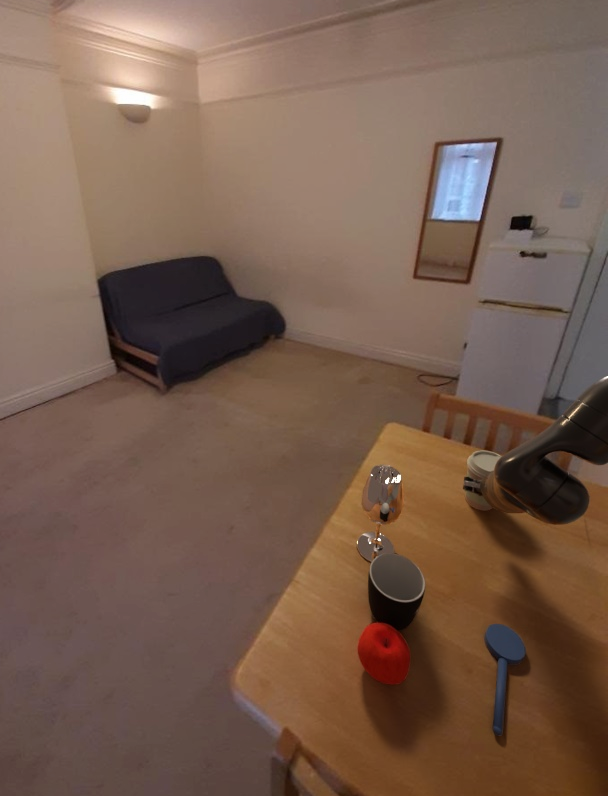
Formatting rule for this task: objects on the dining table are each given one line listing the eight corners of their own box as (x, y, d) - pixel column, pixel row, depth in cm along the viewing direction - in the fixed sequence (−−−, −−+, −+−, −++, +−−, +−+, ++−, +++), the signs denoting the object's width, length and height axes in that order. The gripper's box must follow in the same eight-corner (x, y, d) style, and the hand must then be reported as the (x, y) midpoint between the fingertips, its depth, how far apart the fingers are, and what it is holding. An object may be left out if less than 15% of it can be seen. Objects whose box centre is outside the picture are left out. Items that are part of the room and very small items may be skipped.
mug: (417, 648, 67) (426, 609, 63) (361, 630, 70) (367, 592, 65) (416, 582, 77) (424, 546, 73) (367, 569, 80) (372, 533, 76)
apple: (414, 698, 61) (421, 671, 58) (360, 694, 61) (364, 667, 58) (400, 641, 68) (405, 614, 65) (352, 638, 69) (355, 611, 65)
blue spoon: (486, 622, 70) (487, 617, 70) (524, 640, 67) (526, 635, 67) (473, 723, 58) (475, 718, 57) (519, 750, 55) (522, 745, 54)
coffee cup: (501, 496, 95) (513, 456, 90) (498, 521, 89) (511, 480, 84) (461, 482, 100) (471, 444, 94) (455, 505, 93) (466, 465, 88)
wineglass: (398, 567, 80) (412, 491, 71) (357, 562, 81) (366, 487, 73) (391, 534, 87) (403, 461, 78) (354, 530, 88) (362, 458, 80)
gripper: (558, 478, 67) (529, 484, 83) (469, 458, 73) (457, 467, 88) (555, 524, 65) (526, 522, 81) (464, 500, 71) (453, 502, 86)
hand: (490, 493), depth 84 cm, fingers closed
